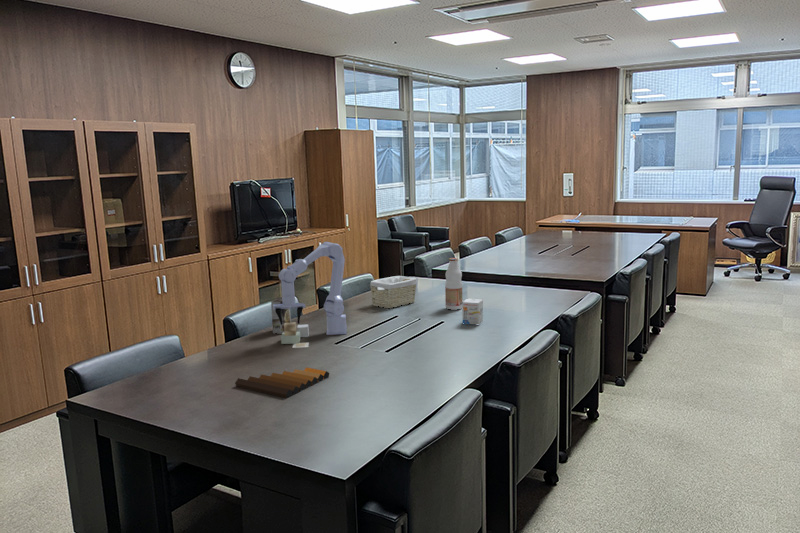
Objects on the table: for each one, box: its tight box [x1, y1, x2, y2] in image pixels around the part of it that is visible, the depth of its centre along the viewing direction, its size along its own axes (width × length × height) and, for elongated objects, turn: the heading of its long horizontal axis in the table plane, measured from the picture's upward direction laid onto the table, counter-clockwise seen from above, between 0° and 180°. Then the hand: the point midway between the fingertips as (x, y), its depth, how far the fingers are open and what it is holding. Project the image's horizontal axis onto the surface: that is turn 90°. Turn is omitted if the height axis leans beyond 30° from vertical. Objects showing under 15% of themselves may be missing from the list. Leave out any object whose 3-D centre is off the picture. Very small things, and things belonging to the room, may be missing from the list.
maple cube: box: [284, 321, 297, 336], centre depth 286 cm, size 5×5×5 cm
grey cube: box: [296, 323, 310, 338], centre depth 296 cm, size 5×5×5 cm
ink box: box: [461, 298, 484, 325], centre depth 311 cm, size 9×8×12 cm
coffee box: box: [270, 297, 292, 335], centre depth 304 cm, size 9×6×16 cm
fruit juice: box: [444, 257, 463, 311], centre depth 340 cm, size 9×9×28 cm
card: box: [292, 342, 310, 349], centre depth 281 cm, size 7×7×1 cm
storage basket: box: [369, 275, 418, 309], centre depth 355 cm, size 24×16×15 cm
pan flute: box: [234, 367, 330, 399], centre depth 235 cm, size 25×3×25 cm
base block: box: [280, 331, 301, 345], centre depth 287 cm, size 8×8×4 cm
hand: (290, 323), depth 286 cm, fingers open, 7 cm apart
